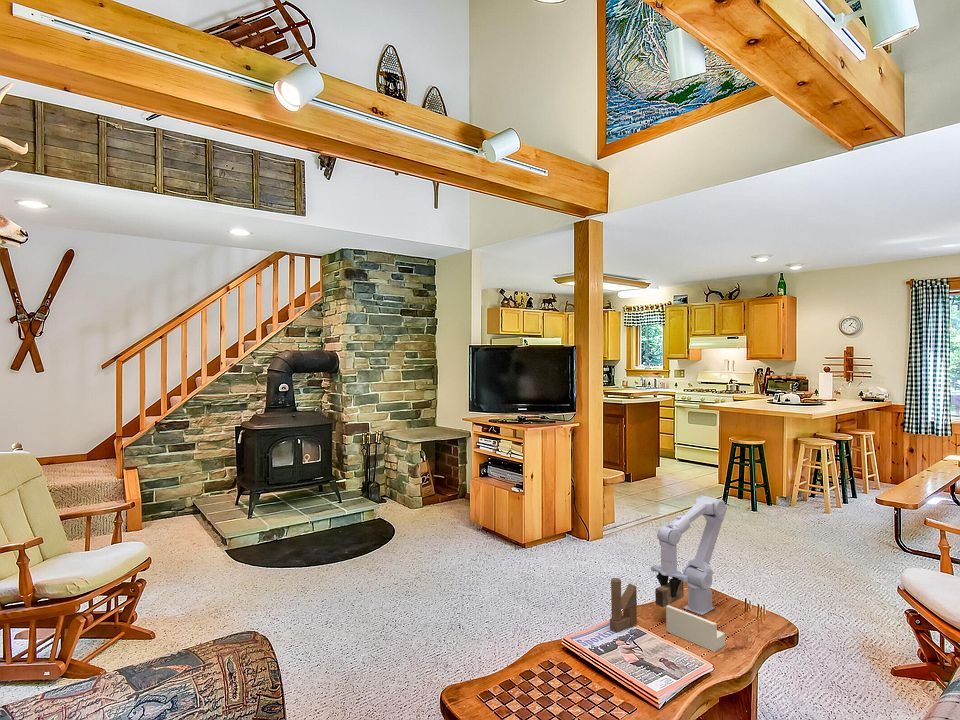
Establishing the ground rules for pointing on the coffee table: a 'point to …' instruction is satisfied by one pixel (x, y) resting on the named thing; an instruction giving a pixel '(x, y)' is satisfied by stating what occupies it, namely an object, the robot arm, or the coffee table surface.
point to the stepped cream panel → (694, 629)
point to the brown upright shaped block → (623, 606)
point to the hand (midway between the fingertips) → (669, 595)
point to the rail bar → (667, 594)
